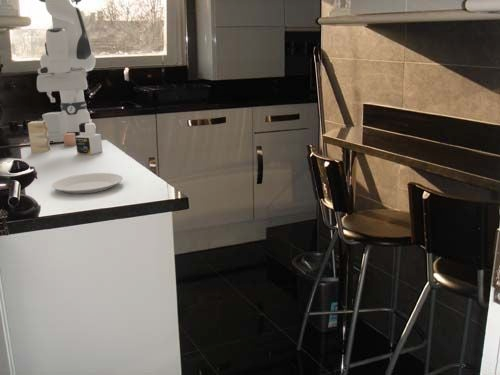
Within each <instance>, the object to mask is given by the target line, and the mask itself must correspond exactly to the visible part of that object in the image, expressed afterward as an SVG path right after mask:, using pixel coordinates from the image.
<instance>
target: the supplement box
mask: <svg viewBox="0 0 500 375" xmlns="http://www.w3.org/2000/svg"><path fill="white" fill-rule="evenodd" d="M41 117H42V121H47V128H48V136H49V143H51V142H50V141H53V142H52V143H62V142H64V139H63V134H66V133H68V132H66V125H65V118H64V112H62V111H51V112H47V113H43V114H41Z"/></svg>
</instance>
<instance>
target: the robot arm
mask: <svg viewBox="0 0 500 375" xmlns="http://www.w3.org/2000/svg"><path fill="white" fill-rule="evenodd" d="M81 1H82V0H38V2H41V3H45V8H46V10H47V12H48V14H49V15H50V16H51V22H52V27H51V28H48V29H47V30H46V32H45V33H46V34H45V40H46V41H45V42H44V48H45V52H44V53H42V55H41V56H40V60H39V64H40V67H39V68H38V69H37V74H38V75H37V77H36V89H37V91H38V92H39V93H46V95H47V97H48V98H49V100H50V103H52V104H53V103H56V98H55V97H53V95H52V92H59V96H60V110H61V112H64V118H65V125H66V132H67V133H80V131H79V124H81V123H86V122H92V123H93V120H92V119H91V116H90V112H89V111H88V108H87V102H86V100H85V95H84V94H85V93H84V91H85V90H87V89H88V88H89V87H88V80H87V76H88V72H90V71H93V70H94V68H95V66H96V62H97V60H96V55H95V54H94V53H93V47H92V46H93V45H92V43H91V40H90V39H89V37H88V36H89V35H88V33H87V30H86V26H85V22H84V19H83V16H82V13H81V10H80V9H79V7H78V3H80V2H81ZM74 3H75V5H74ZM96 129H97V128H96V126H95V130H96Z"/></svg>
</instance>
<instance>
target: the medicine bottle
mask: <svg viewBox="0 0 500 375" xmlns="http://www.w3.org/2000/svg"><path fill="white" fill-rule="evenodd" d="M95 127H96V123H94V122H93V121H92V122H86V123H81V124H79V131H80V132H79V135H75V139H76V147H75V148H76V153H77V155H83V156H84V155H85V156H91V155H95V154H99V153H102V152H103V141H102V135H101V133H96V129H95Z"/></svg>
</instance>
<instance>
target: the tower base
mask: <svg viewBox="0 0 500 375" xmlns="http://www.w3.org/2000/svg"><path fill="white" fill-rule="evenodd" d="M29 144H30V150H31V154H33V153H47V152H48V151H50V150H51V146H50V145H51V144H50V142H49V140H48V141H46V142H42V143H30V142H29Z"/></svg>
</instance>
